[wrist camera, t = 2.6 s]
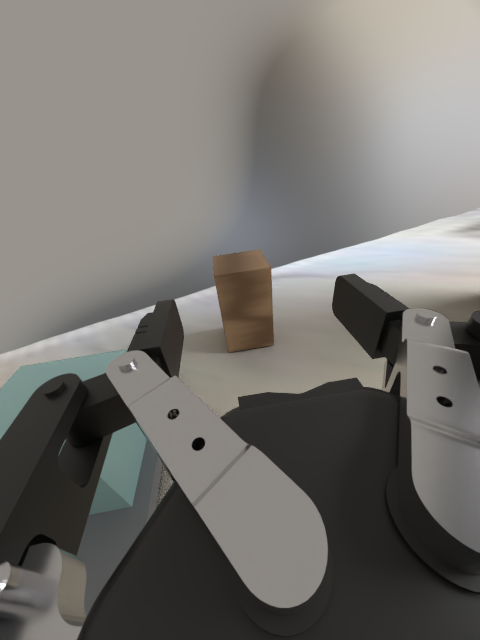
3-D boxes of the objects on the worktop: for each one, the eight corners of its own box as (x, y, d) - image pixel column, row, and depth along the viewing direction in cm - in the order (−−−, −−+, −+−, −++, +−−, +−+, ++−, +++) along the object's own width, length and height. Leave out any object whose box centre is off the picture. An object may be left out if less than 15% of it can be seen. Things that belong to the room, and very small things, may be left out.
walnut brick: (264, 319, 29) (259, 249, 24) (273, 345, 25) (271, 267, 20) (225, 325, 29) (212, 256, 24) (228, 352, 25) (214, 275, 20)
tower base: (176, 370, 23) (153, 312, 19) (138, 635, 10) (40, 627, 6) (87, 385, 23) (44, 329, 19) (-71, 678, 10) (-320, 700, 6)
